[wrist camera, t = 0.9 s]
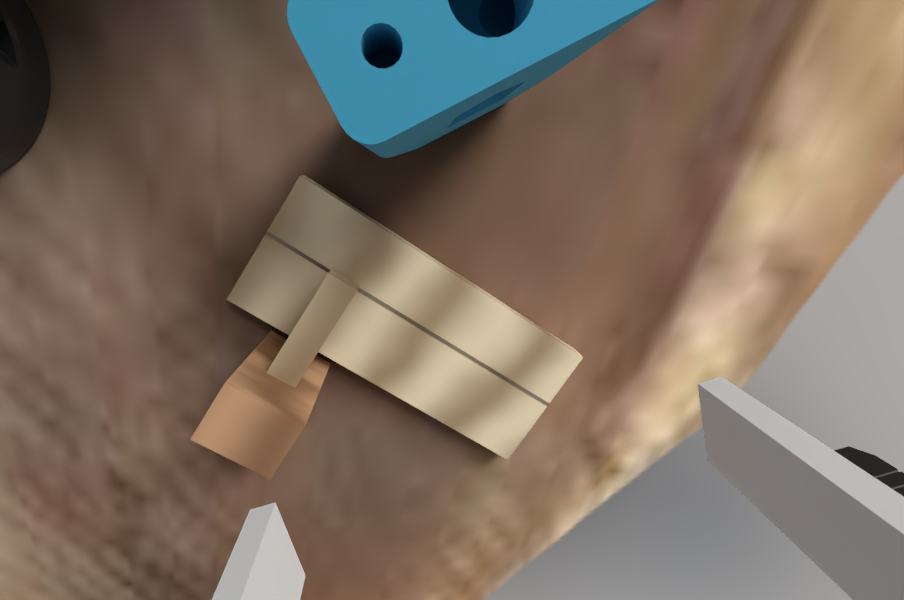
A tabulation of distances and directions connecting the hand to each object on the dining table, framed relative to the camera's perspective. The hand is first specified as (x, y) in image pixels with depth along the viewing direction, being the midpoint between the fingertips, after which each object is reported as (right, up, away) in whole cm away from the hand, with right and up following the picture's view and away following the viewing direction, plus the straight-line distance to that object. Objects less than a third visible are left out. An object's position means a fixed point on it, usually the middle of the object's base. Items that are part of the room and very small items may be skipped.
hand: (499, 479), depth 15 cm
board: (-4, +4, +23) cm, 24 cm away
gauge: (-12, +3, +23) cm, 26 cm away
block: (-2, +20, +20) cm, 28 cm away
